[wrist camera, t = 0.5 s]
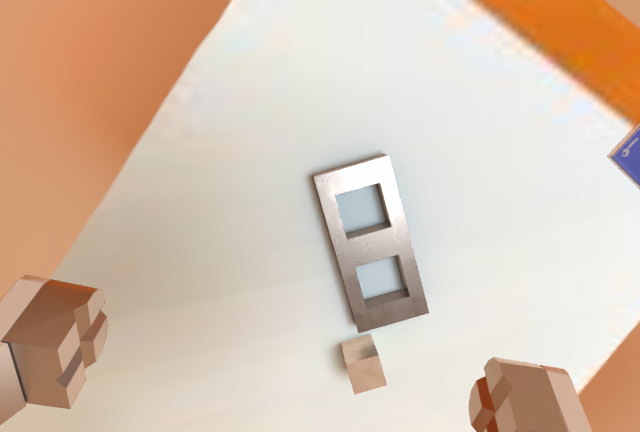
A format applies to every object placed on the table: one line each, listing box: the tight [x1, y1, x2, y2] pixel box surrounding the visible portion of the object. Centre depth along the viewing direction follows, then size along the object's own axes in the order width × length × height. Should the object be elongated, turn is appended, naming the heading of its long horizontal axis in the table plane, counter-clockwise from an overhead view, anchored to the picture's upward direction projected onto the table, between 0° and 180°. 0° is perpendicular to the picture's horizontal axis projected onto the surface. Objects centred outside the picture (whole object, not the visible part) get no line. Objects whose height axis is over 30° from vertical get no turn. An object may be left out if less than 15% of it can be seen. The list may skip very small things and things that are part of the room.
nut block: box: [341, 334, 387, 394], centre depth 62 cm, size 4×4×6 cm
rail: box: [313, 154, 429, 333], centre depth 61 cm, size 20×9×3 cm, turn 16°
